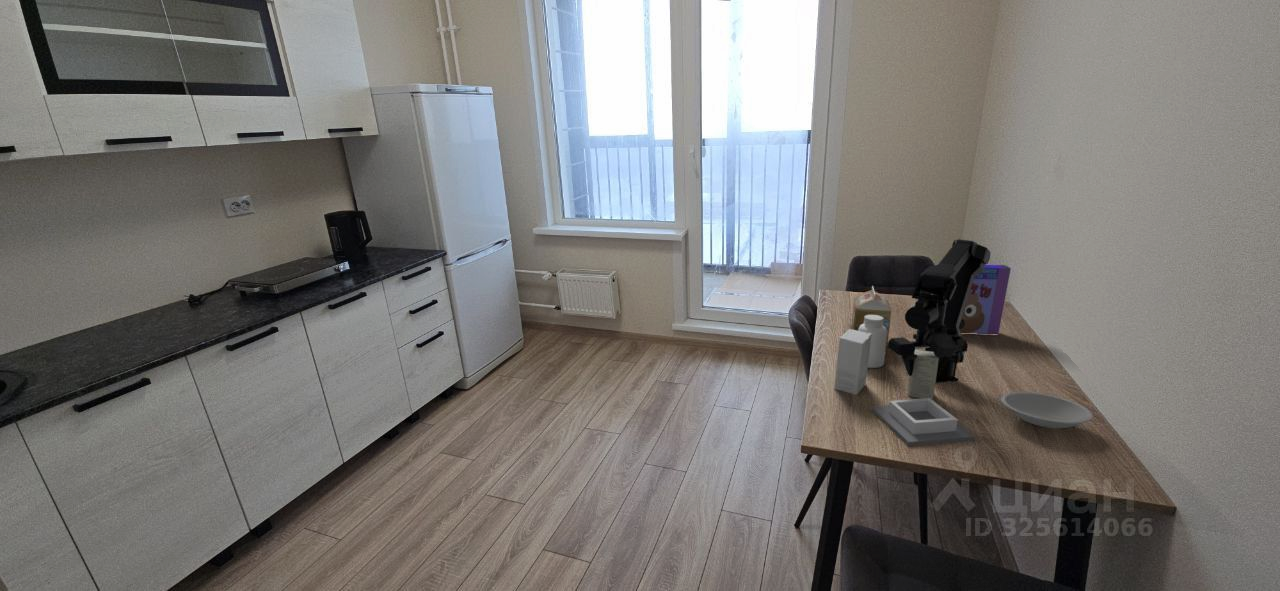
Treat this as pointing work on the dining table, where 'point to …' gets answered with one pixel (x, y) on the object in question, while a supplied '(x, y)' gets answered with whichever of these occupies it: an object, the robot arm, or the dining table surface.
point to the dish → (1046, 409)
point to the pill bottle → (875, 339)
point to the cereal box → (986, 301)
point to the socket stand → (921, 422)
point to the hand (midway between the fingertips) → (923, 374)
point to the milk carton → (871, 310)
